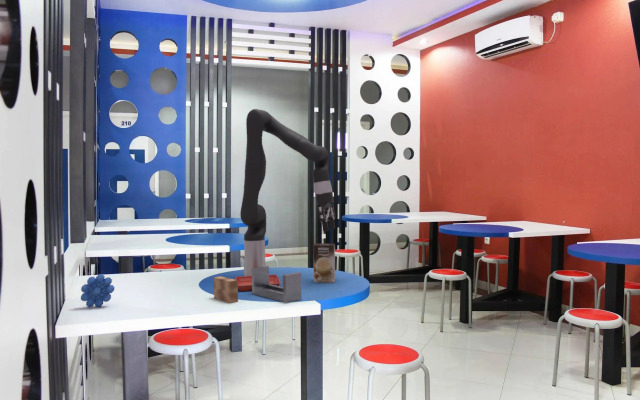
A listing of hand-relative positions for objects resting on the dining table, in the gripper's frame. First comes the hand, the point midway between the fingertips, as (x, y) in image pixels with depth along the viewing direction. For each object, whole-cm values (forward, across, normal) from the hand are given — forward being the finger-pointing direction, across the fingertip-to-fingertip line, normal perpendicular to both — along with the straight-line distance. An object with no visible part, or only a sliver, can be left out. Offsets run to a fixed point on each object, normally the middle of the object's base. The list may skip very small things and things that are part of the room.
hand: (329, 230), depth 228 cm
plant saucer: (+19, +16, -30) cm, 39 cm away
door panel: (+18, +40, -30) cm, 54 cm away
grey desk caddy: (+21, +31, -14) cm, 40 cm away
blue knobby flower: (+13, +62, -70) cm, 94 cm away
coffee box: (+22, -1, -6) cm, 23 cm away
